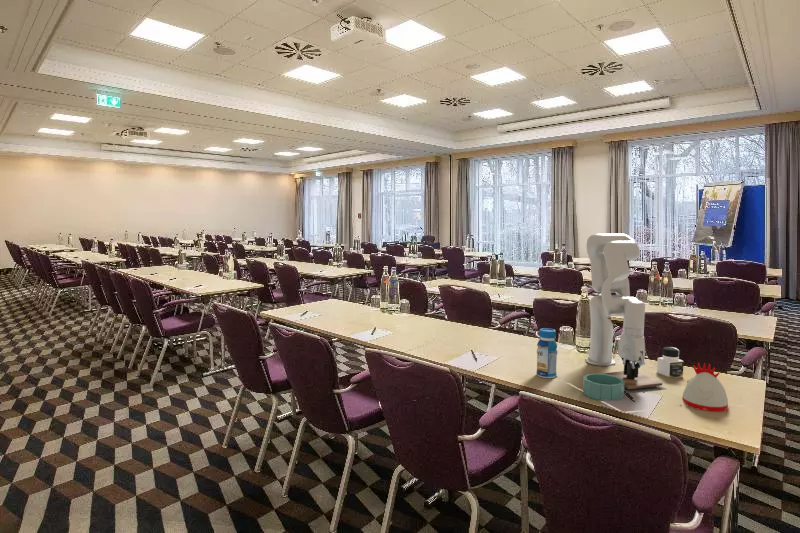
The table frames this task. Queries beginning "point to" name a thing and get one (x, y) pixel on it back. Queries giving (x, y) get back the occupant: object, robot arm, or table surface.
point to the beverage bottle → (546, 353)
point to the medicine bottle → (670, 363)
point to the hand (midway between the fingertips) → (630, 375)
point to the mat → (644, 389)
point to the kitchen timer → (705, 391)
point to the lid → (635, 379)
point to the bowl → (603, 387)
